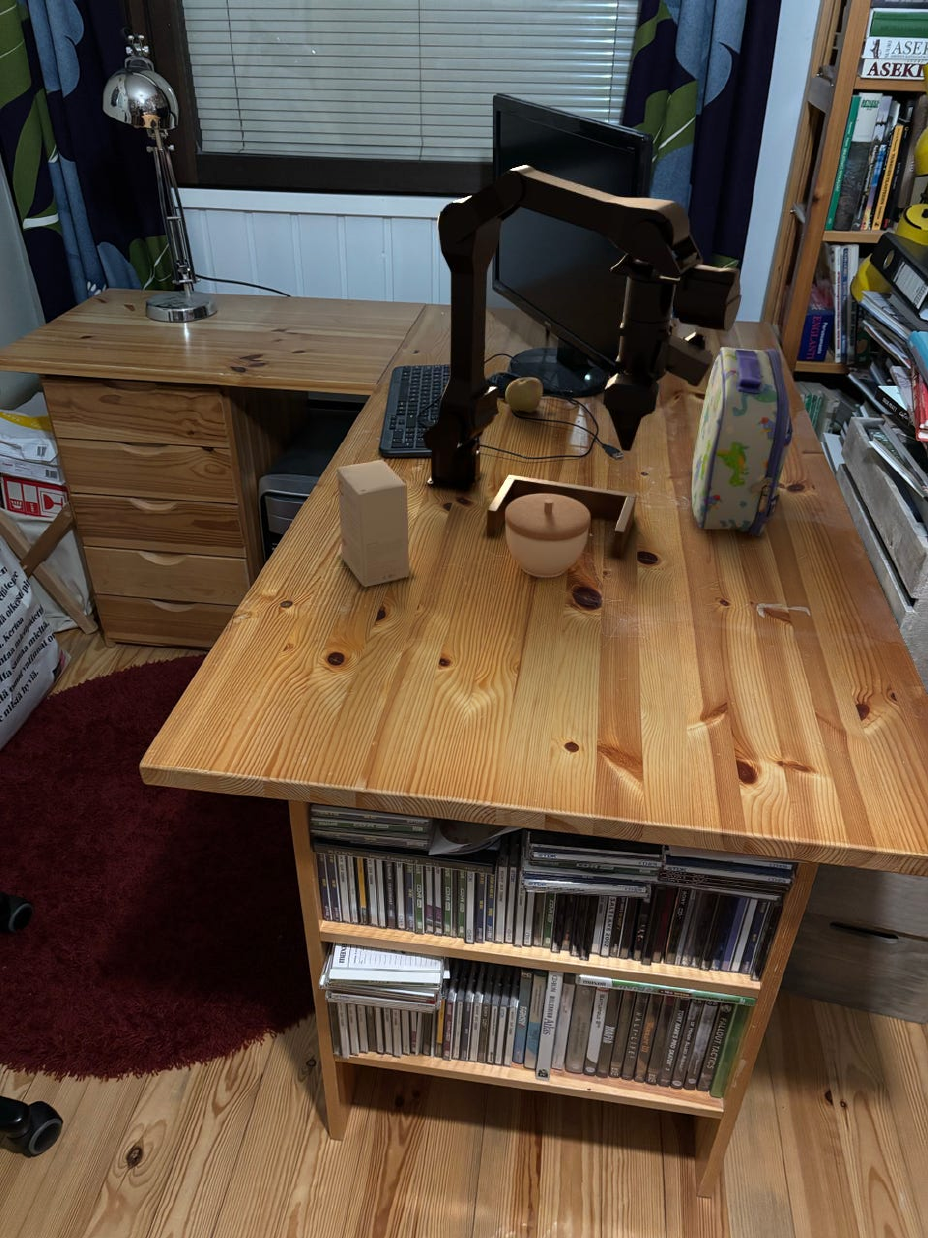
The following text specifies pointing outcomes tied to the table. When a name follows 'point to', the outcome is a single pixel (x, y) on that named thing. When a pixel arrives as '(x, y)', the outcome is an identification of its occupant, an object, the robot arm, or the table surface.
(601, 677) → the table surface
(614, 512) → the walnut bay
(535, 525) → the trinket box
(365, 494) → the small box
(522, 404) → the apple
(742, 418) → the lunch box
